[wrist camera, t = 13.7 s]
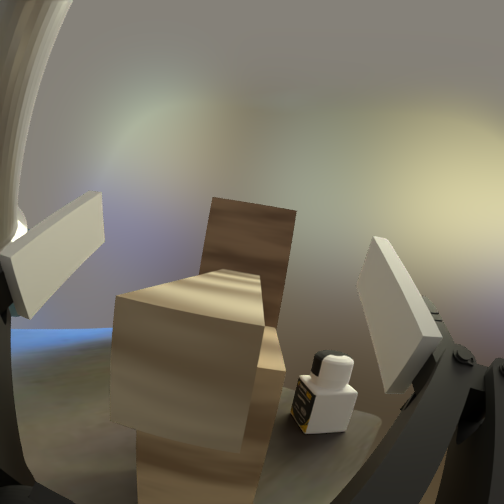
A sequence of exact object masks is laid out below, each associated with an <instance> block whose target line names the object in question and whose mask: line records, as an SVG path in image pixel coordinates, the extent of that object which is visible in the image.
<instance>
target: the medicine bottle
mask: <svg viewBox="0 0 504 504" xmlns="http://www.w3.org/2000/svg"><path fill="white" fill-rule="evenodd" d="M353 365H354V360H353V358H352V357H350V356H349V355H347V354H345V353H342V352H339V351H333V350H323V351H319V352H317V353H316V354H315V356H314V361H313V365H312V369H311V373H310V375H300V376H299V379H298V383H297V387H296V391H295V396H294V400H293V404H292V408H291V414H292V416H293V417H294V419H295V420H296V422H297V423H298V425H299V426H300V428H301V429H302V431H303V432H304V434H318V433H332V432H344V431H346V429H347V426H348V423H349V420H350V417H351V414H352V411H353V408H354V404H355V401H356V398H357V395H358V392H357V391H355V390H354V389H353V388H352V387H351V386H349V385H348V383H349V380H350V376H351V372H352V368H353Z"/></svg>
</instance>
